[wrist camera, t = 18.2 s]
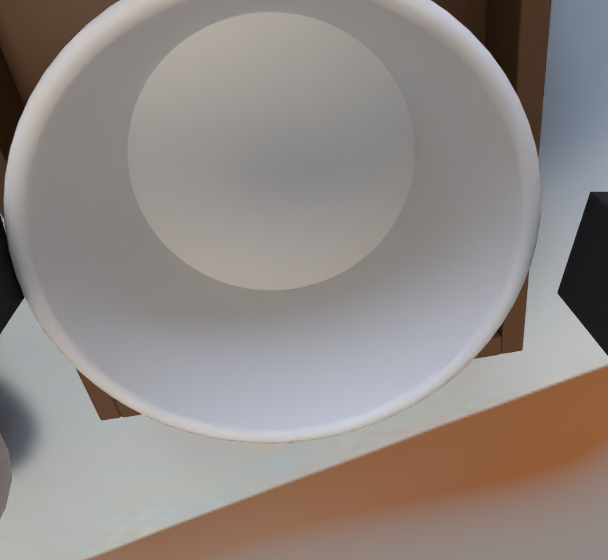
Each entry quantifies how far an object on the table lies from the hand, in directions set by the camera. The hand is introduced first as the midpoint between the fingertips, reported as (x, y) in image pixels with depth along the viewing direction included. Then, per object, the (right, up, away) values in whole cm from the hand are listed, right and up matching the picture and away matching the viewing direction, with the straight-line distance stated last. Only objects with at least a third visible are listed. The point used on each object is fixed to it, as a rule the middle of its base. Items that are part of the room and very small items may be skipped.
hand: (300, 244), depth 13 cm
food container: (-1, +3, +6) cm, 7 cm away
